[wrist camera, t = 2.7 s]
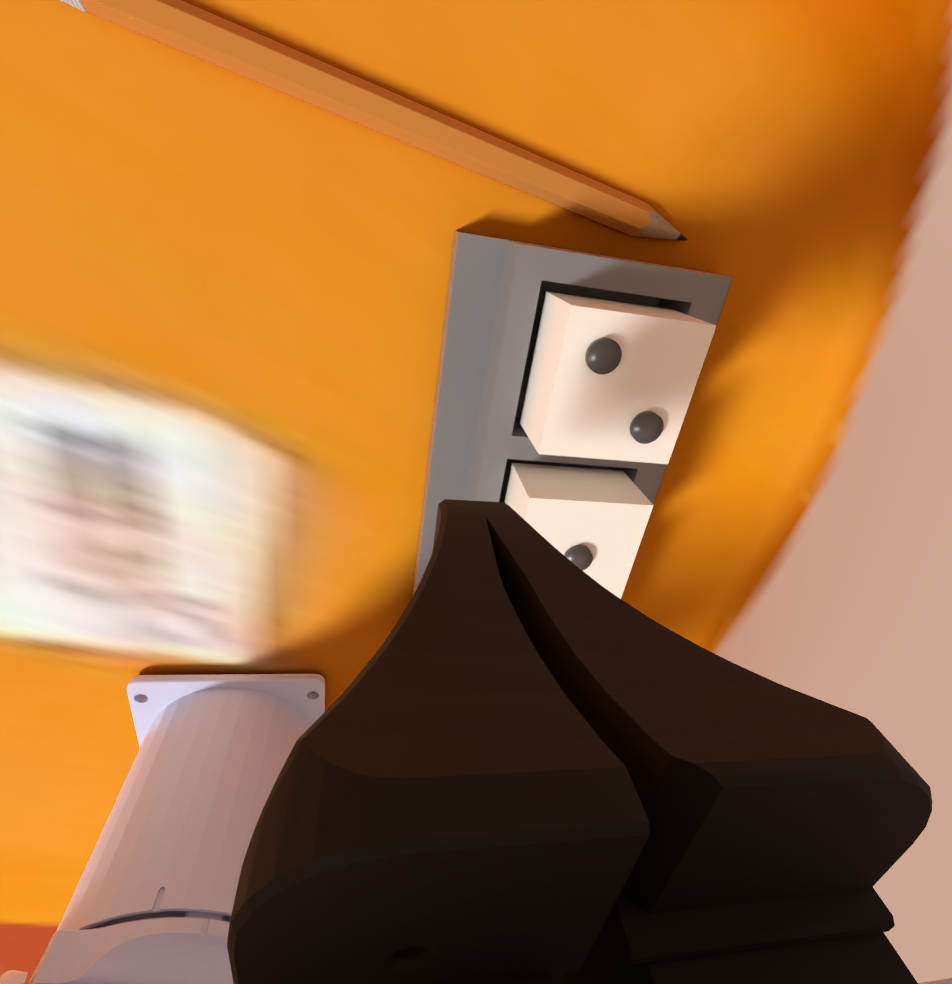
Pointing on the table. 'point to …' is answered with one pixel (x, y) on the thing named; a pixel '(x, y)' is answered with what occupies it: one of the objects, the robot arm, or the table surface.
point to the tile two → (611, 378)
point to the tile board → (525, 359)
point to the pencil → (377, 109)
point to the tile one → (584, 516)
